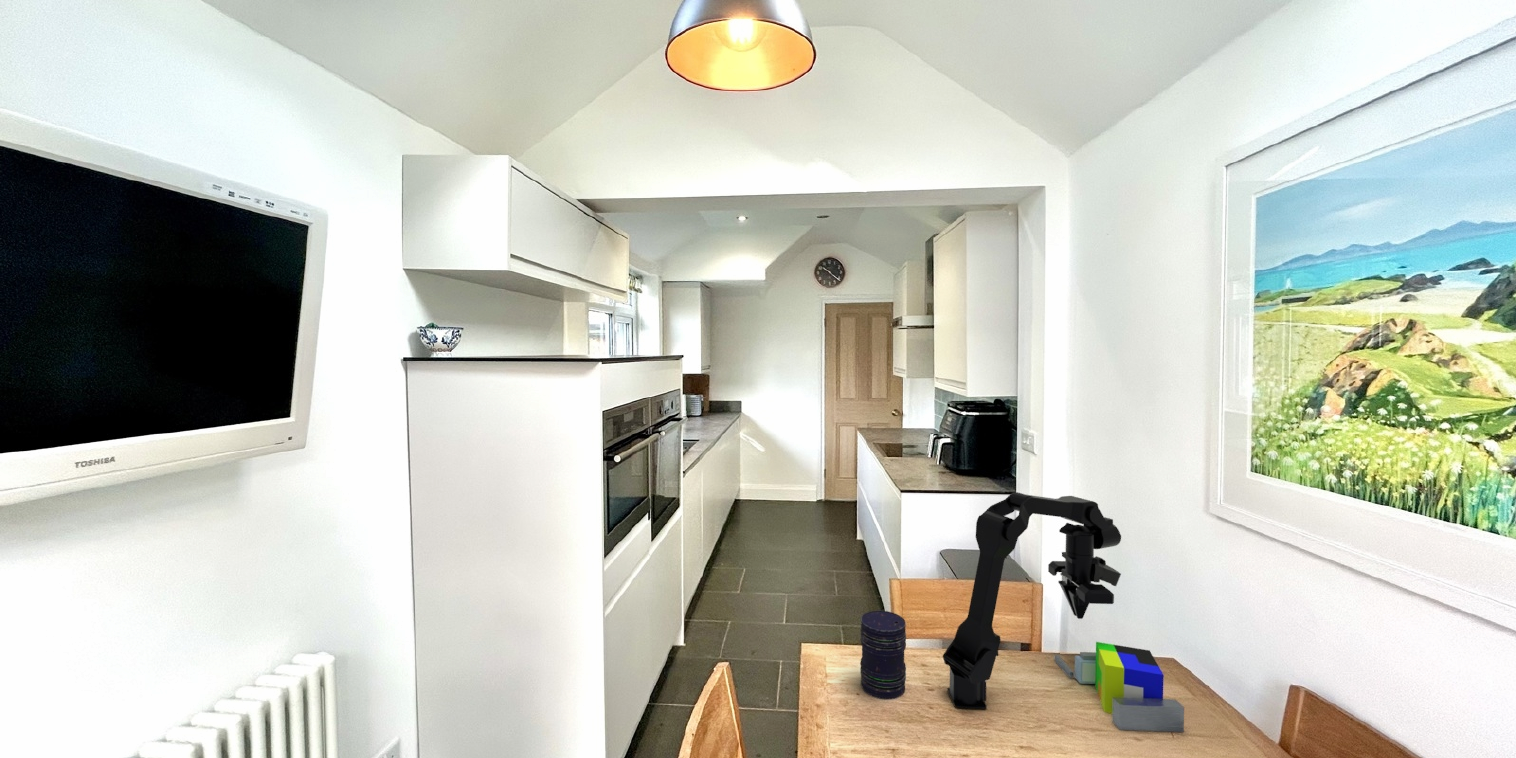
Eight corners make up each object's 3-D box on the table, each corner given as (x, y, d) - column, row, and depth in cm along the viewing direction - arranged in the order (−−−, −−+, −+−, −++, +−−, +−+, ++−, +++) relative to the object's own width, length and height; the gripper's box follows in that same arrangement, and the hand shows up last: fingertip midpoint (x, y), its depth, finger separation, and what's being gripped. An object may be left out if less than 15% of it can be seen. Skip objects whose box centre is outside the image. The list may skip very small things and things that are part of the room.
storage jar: (856, 693, 121) (856, 626, 121) (864, 670, 131) (864, 607, 130) (903, 703, 118) (903, 634, 117) (908, 678, 127) (908, 614, 126)
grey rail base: (1113, 729, 109) (1114, 704, 109) (1054, 660, 134) (1054, 640, 134) (1189, 732, 108) (1190, 707, 108) (1115, 662, 133) (1116, 642, 133)
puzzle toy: (1162, 724, 111) (1163, 675, 111) (1104, 712, 115) (1105, 664, 115) (1148, 695, 120) (1149, 650, 120) (1095, 685, 124) (1096, 641, 124)
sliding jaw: (1080, 683, 124) (1081, 657, 124) (1074, 677, 127) (1075, 651, 127) (1136, 685, 123) (1137, 659, 123) (1129, 678, 126) (1130, 652, 126)
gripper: (1139, 567, 121) (1138, 637, 121) (1093, 539, 139) (1092, 600, 140) (1086, 566, 121) (1085, 636, 122) (1047, 538, 140) (1046, 599, 141)
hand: (1078, 616), depth 131 cm, fingers closed
